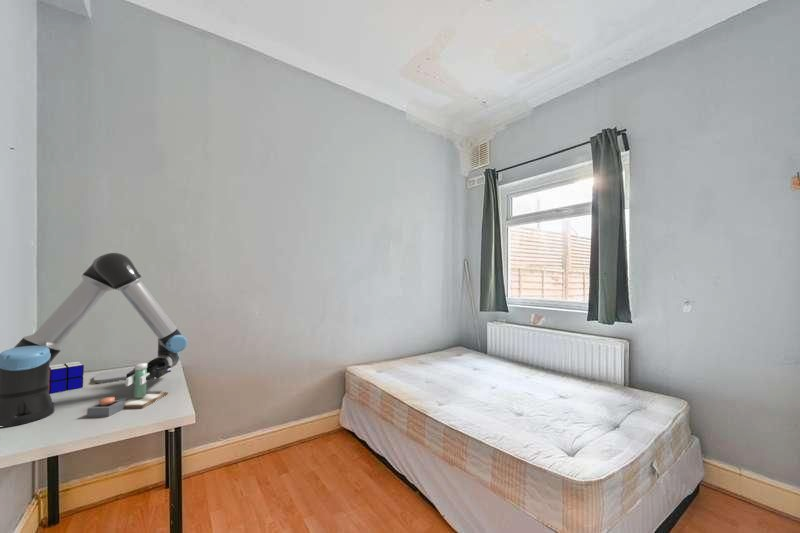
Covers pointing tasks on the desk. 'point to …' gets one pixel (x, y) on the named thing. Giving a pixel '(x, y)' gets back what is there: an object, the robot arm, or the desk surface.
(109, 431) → the desk surface
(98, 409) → the button box
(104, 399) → the button
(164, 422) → the desk surface
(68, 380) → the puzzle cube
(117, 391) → the desk surface
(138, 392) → the green bottle
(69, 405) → the desk surface
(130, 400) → the open book
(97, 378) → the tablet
